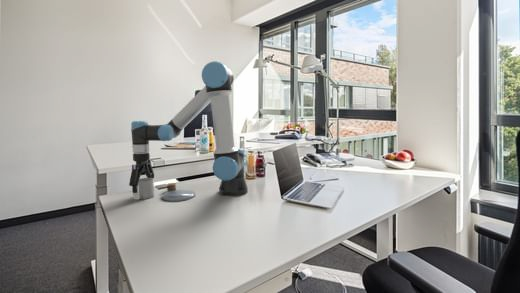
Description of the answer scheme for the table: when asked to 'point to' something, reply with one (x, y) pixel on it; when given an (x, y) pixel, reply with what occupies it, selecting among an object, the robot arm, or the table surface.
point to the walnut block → (171, 187)
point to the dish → (178, 195)
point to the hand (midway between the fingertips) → (143, 194)
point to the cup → (146, 188)
